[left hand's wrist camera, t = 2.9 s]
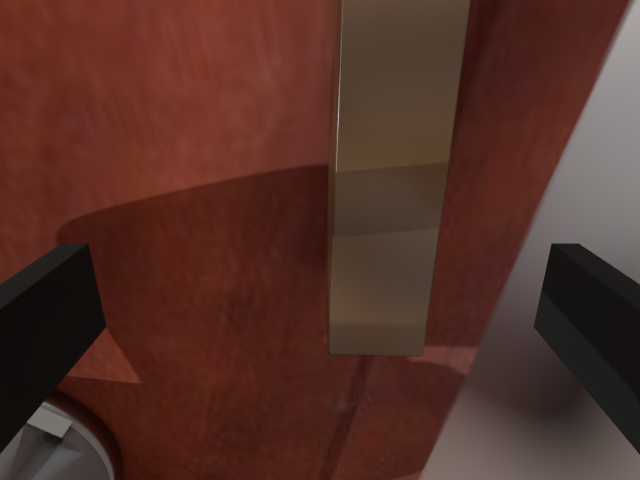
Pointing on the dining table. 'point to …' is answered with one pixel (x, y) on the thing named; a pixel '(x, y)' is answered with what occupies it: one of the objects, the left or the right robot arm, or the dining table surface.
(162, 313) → the dining table surface
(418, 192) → the bar
